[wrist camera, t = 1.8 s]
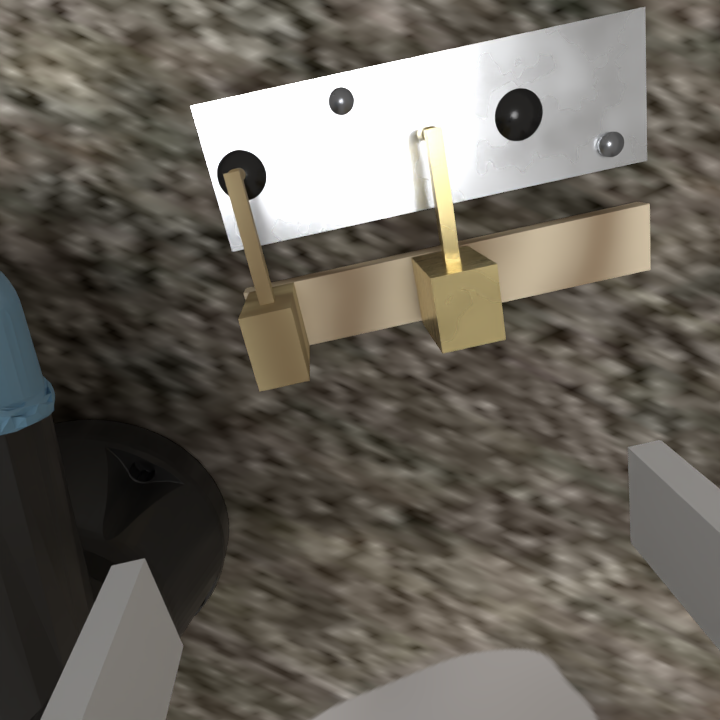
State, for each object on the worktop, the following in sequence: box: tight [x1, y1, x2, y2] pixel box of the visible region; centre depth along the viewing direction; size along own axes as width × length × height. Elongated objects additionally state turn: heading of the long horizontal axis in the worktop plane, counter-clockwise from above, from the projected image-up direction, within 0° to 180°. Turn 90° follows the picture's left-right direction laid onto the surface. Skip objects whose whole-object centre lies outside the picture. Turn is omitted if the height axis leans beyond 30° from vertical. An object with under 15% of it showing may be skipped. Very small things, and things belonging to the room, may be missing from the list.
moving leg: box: [411, 126, 506, 353], centre depth 27 cm, size 3×10×5 cm, turn 12°
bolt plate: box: [190, 7, 647, 252], centre depth 28 cm, size 22×7×1 cm, turn 102°
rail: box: [223, 168, 650, 392], centre depth 27 cm, size 22×10×6 cm, turn 102°
